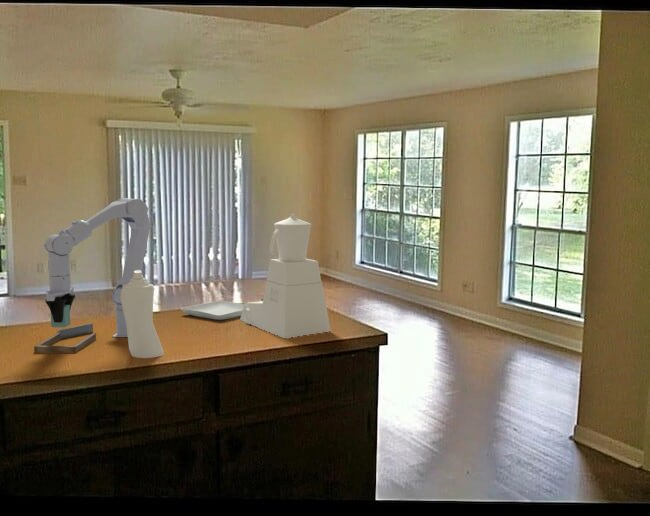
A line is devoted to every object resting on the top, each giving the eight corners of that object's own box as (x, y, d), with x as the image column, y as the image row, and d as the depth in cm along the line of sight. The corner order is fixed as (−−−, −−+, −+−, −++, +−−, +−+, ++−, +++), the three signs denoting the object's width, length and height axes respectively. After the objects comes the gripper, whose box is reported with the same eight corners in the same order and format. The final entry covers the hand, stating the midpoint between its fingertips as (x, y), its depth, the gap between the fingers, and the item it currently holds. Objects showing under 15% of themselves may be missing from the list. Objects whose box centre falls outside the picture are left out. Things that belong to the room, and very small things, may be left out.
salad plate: (219, 307, 252) (219, 299, 252) (259, 315, 240) (259, 306, 240) (179, 316, 235) (178, 307, 235) (219, 324, 223) (219, 315, 223)
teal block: (70, 324, 190) (69, 304, 189) (64, 327, 186) (64, 307, 185) (57, 324, 190) (56, 304, 189) (51, 327, 186) (50, 307, 185)
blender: (237, 322, 226) (237, 210, 221) (282, 316, 236) (283, 209, 231) (282, 342, 199) (282, 215, 194) (331, 335, 209) (332, 214, 204)
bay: (96, 341, 197) (95, 333, 197) (76, 355, 181) (76, 346, 181) (57, 340, 197) (57, 332, 197) (34, 354, 181) (34, 346, 181)
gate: (91, 332, 208) (90, 323, 207) (93, 332, 207) (92, 323, 207) (56, 339, 198) (56, 330, 197) (58, 340, 197) (57, 330, 197)
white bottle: (124, 365, 173) (122, 274, 169) (120, 355, 182) (118, 269, 179) (167, 360, 177) (166, 272, 174) (161, 351, 187) (159, 267, 184)
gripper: (56, 271, 193) (58, 315, 195) (34, 278, 179) (36, 325, 181) (79, 271, 193) (81, 315, 195) (59, 279, 179) (61, 326, 181)
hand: (61, 320), depth 188 cm, fingers closed on teal block, 4 cm apart
